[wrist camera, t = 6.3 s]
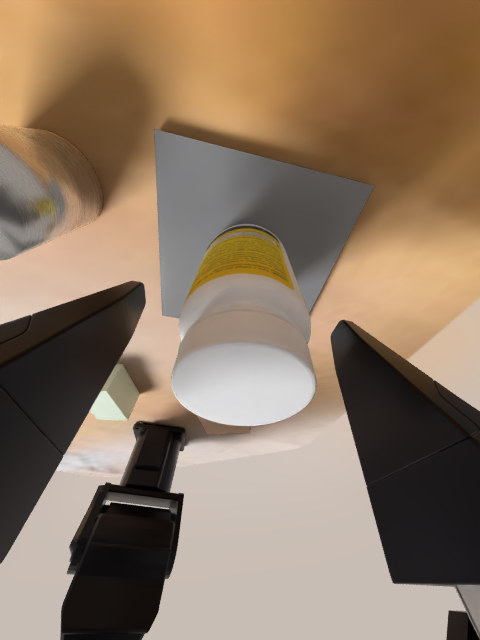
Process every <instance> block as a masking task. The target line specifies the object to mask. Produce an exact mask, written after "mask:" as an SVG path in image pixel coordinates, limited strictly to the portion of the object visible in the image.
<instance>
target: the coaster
mask: <svg viewBox="0 0 480 640" xmlns="http://www.w3.org/2000/svg"><path fill="white" fill-rule="evenodd" d="M154 136H155V159H156V182H157V206H158V229H159V252H160V275H161V299H162V315H163V316H168V317H174V318H180V314H181V310H182V307H183V305H184V302H185V300H186V298H187V296H188V293H189V291H190V289H191V286H192V284H193V281H194V279H195V277H196V275H197V272H198V270H199V267H200V265H201V262H202V261H203V258H204V256H205V253H206V250H207V248H208V247H209V245H210V243H211V242H212V241H213V239H214V238H215V237H216V236H217V235H218V234H219V233H221V232H222V231H223V230H225V229H227V228H229V227H232V226H235V225H239V224H254V225H258V226H261V227H263V228H265V229H267V230H269V231H270V232H272V233H273V234H274V235H275V236H276V237H277V238H278V239H279V240H280V241H281V243H282V244H283V246H284V248H285V250H286V253H287V256H288V259H289V261H290V264H291V266H292V269H293V272H294V275H295V277H296V280H297V283H298V285H299V288H300V290H301V293H302V295H303V298H304V300H305V303H306V306H307V308H308V312H309V313H310V311H311V309H312V307H313V305H314V303H315V301H316V299H317V297H318V295H319V293H320V291H321V289H322V287H323V285H324V283H325V281H326V279H327V277H328V275H329V274H330V272H331V270H332V268H333V266H334V264H335V262H336V260H337V258H338V256H339V254H340V252H341V250H342V248H343V246H344V244H345V242H346V240H347V238H348V236H349V235H350V233H351V231H352V229H353V227H354V225H355V223H356V221H357V219H358V217H359V215H360V213H361V211H362V209H363V207H364V205H365V203H366V201H367V199H368V197H369V196H370V194H371V192H372V190H373V188H374V185H370V184H366V183H362V182H358V181H355V180H351V179H347V178H343V177H339V176H335V175H331V174H327V173H323V172H320V171H316V170H312V169H308V168H304V167H300V166H296V165H292V164H289V163H285V162H281V161H277V160H273V159H269V158H265V157H261V156H258V155H254V154H250V153H246V152H242V151H238V150H234V149H230V148H227V147H223V146H219V145H215V144H211V143H207V142H203V141H199V140H196V139H192V138H188V137H184V136H180V135H176V134H172V133H168V132H165V131H161V130H157V129H154Z"/></svg>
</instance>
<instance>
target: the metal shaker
mask: <svg viewBox="0 0 480 640" xmlns="http://www.w3.org/2000/svg"><path fill="white" fill-rule="evenodd" d="M102 207H103V193H102V188H101V185H100V182H99V179H98V177H97V175H96V173H95V171H94V169H93V168H92V166H91V165H90V163H89V162H88V160H87V159H86V158H85V157H84V155H83V154H82V153H81V152H80V151H79V150H78V149H77V148H76V147H75V146H74V145H72V144H71V143H70V142H68V141H67V140H66V139H64V138H62V137H61V136H59V135H57V134H55V133H53V132H50V131H46V130H41V129H32V128H24V127H15V126H6V125H0V260H7V259H10V258H13V257H15V256H17V255H19V254H22V253H24V252H26V251H28V250H31V249H33V248H35V247H37V246H40V245H42V244H44V243H46V242H49V241H51V240H53V239H55V238H58V237H60V236H62V235H64V234H67V233H69V232H71V231H74V230H76V229H78V228H80V227H83V226H85V225H87V224H89V223H91V222H93V221H95V220H96V219H97V218H98V216H99V215H100V213H101V211H102Z"/></svg>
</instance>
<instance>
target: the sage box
mask: <svg viewBox="0 0 480 640" xmlns="http://www.w3.org/2000/svg"><path fill="white" fill-rule="evenodd" d="M139 395H140V394H139V392H138V390H137V388H136V387H135V385H134V383H133V381H132V380H131V378H130V376H129V374H128V373H127V371H126V369H125V367H124V366H123V364H116V366H115V367H114V369H113V371H112V373H111V374H110V376H109V378H108V380H107V381H106V383H105V385H104V387H103V388H102V390H101V392H100V393H99V395H98V397H97V399H96V400H95V402H94V404H93V406H92V407H91V409H90V412H91V413H92V414H93V415H94V416H95V417H96V418H97V419H98V420H128V419H129V417H130V414H131V412H132V410H133V408H134V406H135V403H136V401H137V399H138V397H139Z"/></svg>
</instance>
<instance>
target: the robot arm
mask: <svg viewBox="0 0 480 640" xmlns="http://www.w3.org/2000/svg"><path fill="white" fill-rule="evenodd" d="M145 303H146V299H145V289H144V284H143V283H141V282H136V281H130V282H127V283H124V284H121V285H118V286H115V287H112V288H109V289H106V290H103V291H100V292H97V293H94V294H91V295H88V296H85V297H82V298H79V299H76V300H73V301H70V302H67V303H64V304H61V305H58V306H55V307H52V308H49V309H46V310H43V311H40V312H37V313H34V314H32V316H31V315H28V316H25V317H22V318H20V319H17V320H14V321H10V322H7V323H4V324H1V325H0V563H2V561H3V560H4V558H5V557H6V555H7V553H8V552H9V550H10V549H11V547H12V545H13V543H14V542H15V540H16V538H17V536H18V535H19V533H20V531H21V529H22V527H23V526H24V524H25V522H26V521H27V519H28V517H29V515H30V513H31V512H32V510H33V508H34V507H35V505H36V503H37V502H38V500H39V498H40V496H41V494H42V493H43V491H44V489H45V488H46V486H47V484H48V482H49V481H50V479H51V477H52V476H53V474H54V472H55V470H56V469H57V467H58V465H59V463H60V462H61V460H62V458H63V455H64V454H65V453H66V451H67V449H68V447H69V446H70V444H71V442H72V440H73V439H74V437H75V435H76V433H77V432H78V430H79V428H80V426H81V425H82V423H83V421H84V420H85V418H86V416H87V414H88V413H89V411H90V409H91V407H92V406H93V404H94V402H95V400H96V399H97V397H98V395H99V393H100V392H101V390H102V388H103V387H104V385H105V383H106V381H107V380H108V378H109V376H110V374H111V373H112V371H113V369H114V367H115V366H116V364H117V362H118V360H119V359H120V357H121V355H122V354H123V352H124V350H125V348H126V347H127V345H128V343H129V341H130V339H131V338H132V336H133V333H134V331H135V329H136V326H137V324H138V321H139V319H140V317H141V314H142V312H143V309H144V307H145ZM331 344H332V351H333V358H334V364H335V370H336V374H337V378H338V381H339V385H340V389H341V393H342V396H343V400H344V404H345V408H346V411H347V415H348V419H349V422H350V426H351V430H352V434H353V437H354V441H355V445H356V448H357V452H358V456H359V460H360V463H361V467H362V471H363V475H364V479H365V482H366V485H367V490H368V494H369V498H370V502H371V505H372V509H373V513H374V516H375V520H376V524H377V528H378V532H379V535H380V539H381V542H382V546H383V550H384V554H385V558H386V562H387V565H388V568H389V572H390V576H391V578H392V581H393V583H394V584H414V585H433V586H452V587H455V589H456V591H457V593H458V595H459V597H460V599H461V601H462V603H463V605H464V608H465V610H466V611H449V615H448V627H447V640H480V411H478V410H477V409H475V408H474V407H472V406H471V405H469V404H468V403H466V402H465V401H463V400H462V399H460V398H459V397H458V396H456V395H455V394H453V393H452V392H450V391H449V390H447V389H446V388H445V387H443V386H442V385H441V384H439V383H438V382H436V381H433V379H432V378H430V377H429V376H428V375H426V374H425V373H424V372H422V371H421V370H419V369H418V368H416V367H415V366H414V365H412V364H411V363H409V362H408V361H407V360H405V359H404V358H402V357H401V356H400V355H398V354H397V353H395V352H394V351H392V350H391V349H390V348H388V347H387V346H385V345H384V344H383V343H381V342H380V341H378V340H377V339H376V338H374V337H373V336H371V335H370V334H369V333H367V332H366V331H364V330H363V329H361V328H360V327H359V326H357V325H356V324H354V323H353V322H351V321H347V320H341V321H340V322H339V323H338V324H337V326H336V328H335V329H334V331H333V332H332V334H331ZM133 430H134V434H135V437H136V444H135V446H134V449H133V451H132V454H131V457H130V459H129V462H128V464H127V467H126V469H125V472H124V475H123V477H122V480H121V482H120V485H113V484H111V483H107V482H106V484H105V485H101V486H98V489H97V491H96V493H95V496H94V498H93V500H92V502H91V504H90V506H89V508H88V511H87V512H86V514H85V516H84V518H83V520H82V522H81V524H80V526H79V528H78V530H77V532H76V534H75V536H74V538H73V540H72V542H71V544H70V546H69V547H70V551H71V555H72V556H71V558H70V562H71V563H70V566H69V568H68V571H67V574H75V575H74V577H73V580H72V582H71V585H70V587H69V590H68V592H67V595H66V597H65V599H64V602H63V605H62V611H61V640H142V638H143V636H144V634H145V633H147V632H148V631H149V630H150V628H151V626H152V624H153V622H154V620H155V618H156V615H157V613H158V610H159V605H160V600H161V595H162V591H163V585H164V581H165V579H168V578H169V576H170V574H171V571H172V568H173V564H174V560H175V556H176V551H177V546H178V538H179V530H180V522H181V514H182V506H183V498H184V494H183V493H179V494H176V493H170V488H171V485H172V480H173V476H174V471H175V467H176V463H177V459H178V454H179V451H183V450H184V445H185V433H186V431H185V430H184V429H180V428H171V427H163V426H155V425H146V424H137V423H136V424H134V427H133ZM106 500H110V501H118V502H126V503H134V504H143V505H150V506H157V507H165V508H169V509H160V508H152V507H144V506H136V505H128V504H120V503H112V502H111V503H110V505H105V503H106Z"/></svg>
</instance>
